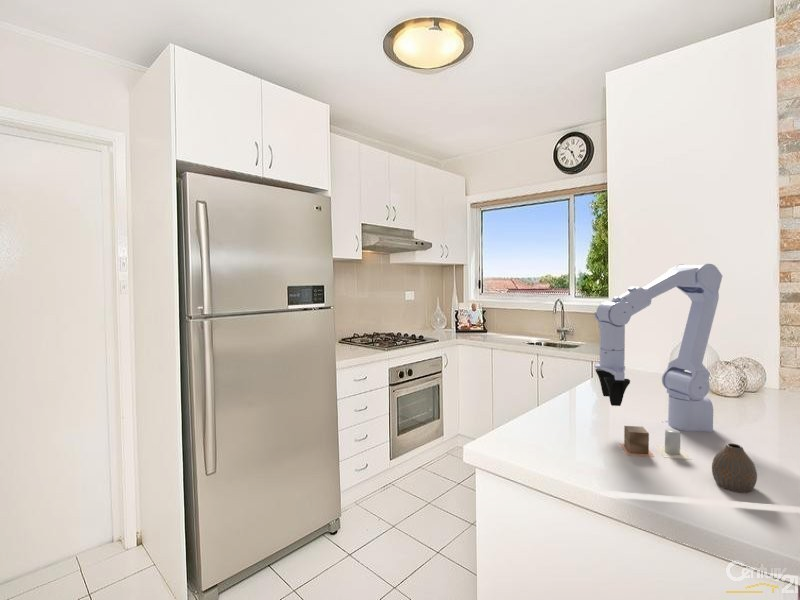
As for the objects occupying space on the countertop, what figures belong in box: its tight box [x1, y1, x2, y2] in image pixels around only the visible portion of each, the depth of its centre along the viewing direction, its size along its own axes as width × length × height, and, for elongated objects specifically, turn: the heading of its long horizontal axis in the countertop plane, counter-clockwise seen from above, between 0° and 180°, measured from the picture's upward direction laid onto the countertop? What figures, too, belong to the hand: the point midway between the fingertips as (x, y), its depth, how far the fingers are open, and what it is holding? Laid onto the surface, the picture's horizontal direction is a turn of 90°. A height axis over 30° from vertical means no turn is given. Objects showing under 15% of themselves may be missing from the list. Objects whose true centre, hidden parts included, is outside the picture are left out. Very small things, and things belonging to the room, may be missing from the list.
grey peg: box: [664, 428, 682, 455], centre depth 96 cm, size 3×3×5 cm
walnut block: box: [623, 425, 650, 454], centre depth 98 cm, size 4×4×5 cm
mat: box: [619, 443, 692, 460], centre depth 98 cm, size 13×8×1 cm, turn 77°
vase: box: [711, 443, 758, 494], centre depth 82 cm, size 7×7×9 cm
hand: (611, 400), depth 108 cm, fingers open, 7 cm apart
